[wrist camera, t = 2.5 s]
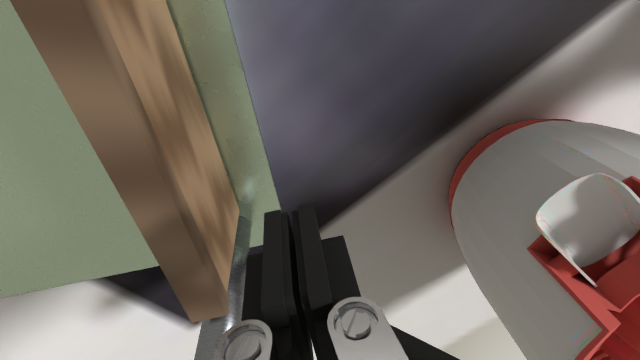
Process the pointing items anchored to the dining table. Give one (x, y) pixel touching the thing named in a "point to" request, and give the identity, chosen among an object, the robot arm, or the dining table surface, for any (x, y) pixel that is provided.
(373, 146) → the dining table surface
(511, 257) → the citrus juicer
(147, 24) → the gate
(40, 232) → the gate frame
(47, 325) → the dining table surface
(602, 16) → the dining table surface
